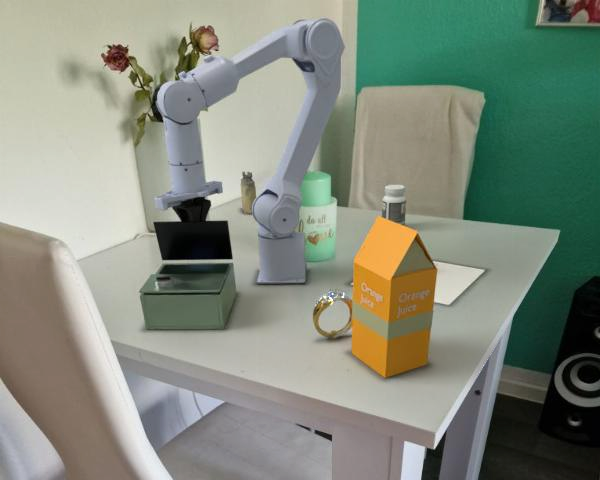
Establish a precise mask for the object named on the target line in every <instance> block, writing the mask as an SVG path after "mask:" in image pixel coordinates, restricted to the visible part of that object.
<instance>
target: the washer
mask: <svg viewBox="0 0 600 480" xmlns="http://www.w3.org/2000/svg"><path fill="white" fill-rule="evenodd" d="M159 276H172V277H173V279H174V285H173V286H172V287H169V288H156V287H155V285H154V279H155V278H156V277H159ZM236 287H237V286H236V275H235V265H234V262H181V263H180V262H179V263H177V262H176V263H172V262H171V263H162V264H161V265H160V267H159V268H158V269H157V271H156V272H155V274H154V273H152V274H150V275H149V277H148V278H147V279H146V281H145V282H144V283H143V285H142V286H141V288H140V289H139V290H138V292H139V294H140V295H139V299H140V305H141V309H142V315H143V320H144V325H145V329H146V330H149V331H150V330H224V329H225V327H226V324H227V321H228V319H229V316H230V313H231V311H232V310H231V309H232V307H233V305H234V302H235V299H236V296H237V288H236ZM196 292H212V294H181V293H196Z"/></svg>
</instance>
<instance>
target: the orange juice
mask: <svg viewBox="0 0 600 480" xmlns="http://www.w3.org/2000/svg"><path fill="white" fill-rule="evenodd" d="M433 261H434V260H433V259H432V258H431V255H430V253H429V251H428V249H427V248H426V245H425V244H424V242H423V240H422V238H421V236H420V235H419V231H418V230H416V229H413V228H410V227H408V226H403V225H401V224H398V223H395V222H393V221H390V220H388V219H385V218H382V216H380V215H378V216H377V217H376V219H375V220H374V223H373V225H372V227H371V228H370V230H369V232H368V234H367V236H366V237H365V239H364V241H363V243H362V245H361V247H360V248H359V250H358V251H357V254H356V255H355V257H354V259H353V275H352V276H353V278H352V279H353V280H352V283H353V285H352V327H351V354H352V355H354V356H355V357H356V358H357V359H359V360H360V361H362V363H364V364H365V365H367V366H368V367H369V368H371V369H372V370H373V371H375V372H376V373H378V374H379V375H380V376H381V377H383V378H384V379H387V378H389V377H392V376H395V375H399V374H402V373H406V372H408V371H411V370H414V369H417V368H418V369H419V368H421V367H424V366H427V365H428V359H429V352H430V351H429V350H430V340H431V332H432V327H433V319H434V318H433V317H434V306H435V305H434V304H435V302H434V296H435V287H436V278H437V269H438V268H436V267H435V265H434V263H433Z"/></svg>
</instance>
